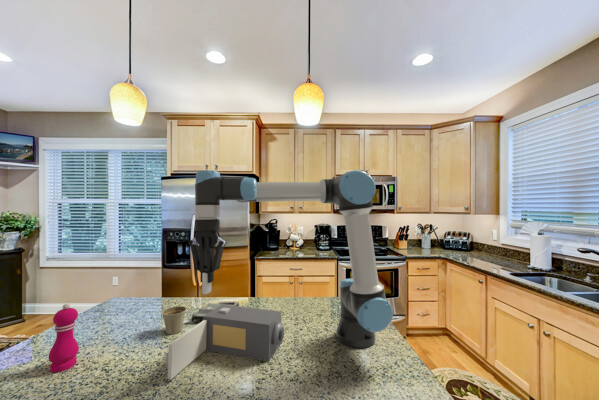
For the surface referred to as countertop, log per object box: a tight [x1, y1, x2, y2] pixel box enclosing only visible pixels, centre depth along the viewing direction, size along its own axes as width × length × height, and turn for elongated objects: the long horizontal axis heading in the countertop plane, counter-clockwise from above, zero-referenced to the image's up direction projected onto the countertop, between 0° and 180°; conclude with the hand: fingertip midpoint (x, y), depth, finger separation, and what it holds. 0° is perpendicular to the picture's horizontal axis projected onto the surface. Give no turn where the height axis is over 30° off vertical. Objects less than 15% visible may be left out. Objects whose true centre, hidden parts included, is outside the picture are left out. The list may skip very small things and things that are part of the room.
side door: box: [165, 320, 207, 380], centre depth 82 cm, size 17×2×10 cm, turn 166°
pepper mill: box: [47, 303, 80, 374], centre depth 82 cm, size 7×7×20 cm
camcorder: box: [191, 301, 240, 322], centre depth 122 cm, size 16×20×5 cm
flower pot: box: [161, 305, 188, 335], centre depth 106 cm, size 9×9×9 cm
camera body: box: [202, 305, 285, 362], centre depth 93 cm, size 28×12×13 cm, turn 74°
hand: (206, 292), depth 80 cm, fingers closed
